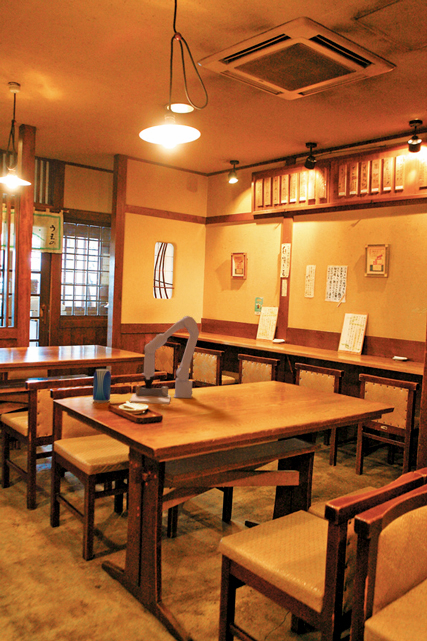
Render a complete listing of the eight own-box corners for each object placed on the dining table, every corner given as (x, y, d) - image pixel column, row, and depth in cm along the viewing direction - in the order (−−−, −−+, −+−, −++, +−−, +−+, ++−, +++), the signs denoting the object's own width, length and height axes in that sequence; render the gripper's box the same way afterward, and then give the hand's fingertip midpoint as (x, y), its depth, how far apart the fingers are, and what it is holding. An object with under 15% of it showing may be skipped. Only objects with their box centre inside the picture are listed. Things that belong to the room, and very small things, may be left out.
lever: (168, 395, 270) (168, 386, 270) (167, 396, 266) (168, 387, 266) (135, 393, 269) (136, 385, 269) (135, 395, 265) (135, 386, 265)
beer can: (107, 403, 248) (109, 371, 248) (90, 402, 248) (92, 370, 248) (111, 400, 257) (112, 369, 256) (95, 399, 257) (96, 368, 256)
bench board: (170, 396, 272) (170, 394, 272) (169, 403, 254) (169, 401, 254) (133, 395, 271) (133, 393, 271) (129, 402, 253) (129, 400, 253)
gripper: (143, 363, 278) (142, 388, 278) (140, 367, 263) (139, 392, 264) (155, 364, 278) (154, 388, 279) (154, 367, 264) (153, 393, 264)
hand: (148, 390), depth 271 cm, fingers closed
